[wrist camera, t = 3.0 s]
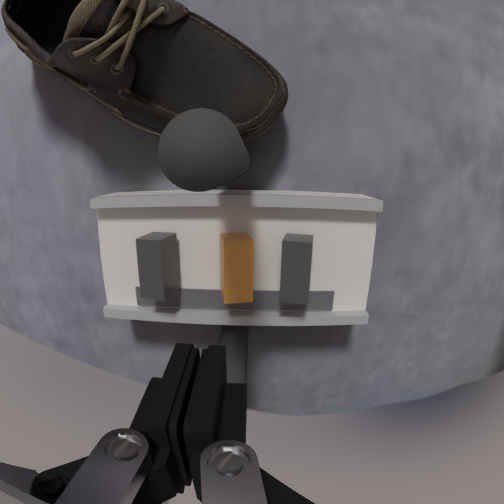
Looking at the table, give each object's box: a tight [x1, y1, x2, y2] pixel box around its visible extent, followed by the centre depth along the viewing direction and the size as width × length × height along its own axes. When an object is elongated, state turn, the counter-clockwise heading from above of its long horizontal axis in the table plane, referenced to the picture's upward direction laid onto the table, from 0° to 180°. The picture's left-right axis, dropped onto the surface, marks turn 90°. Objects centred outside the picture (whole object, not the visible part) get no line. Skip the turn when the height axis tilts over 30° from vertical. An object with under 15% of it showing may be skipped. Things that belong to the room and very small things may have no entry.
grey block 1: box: [136, 232, 179, 301], centre depth 22 cm, size 2×4×2 cm, turn 178°
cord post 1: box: [158, 108, 251, 192], centre depth 17 cm, size 2×2×18 cm
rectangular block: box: [220, 232, 254, 304], centre depth 22 cm, size 2×4×2 cm, turn 179°
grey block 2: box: [279, 233, 314, 305], centre depth 22 cm, size 2×4×2 cm, turn 179°
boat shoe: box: [1, 0, 288, 142], centre depth 18 cm, size 11×29×11 cm, turn 62°
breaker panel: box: [90, 190, 383, 326], centre depth 25 cm, size 22×10×5 cm, turn 89°
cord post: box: [219, 325, 248, 383], centre depth 21 cm, size 2×2×18 cm
